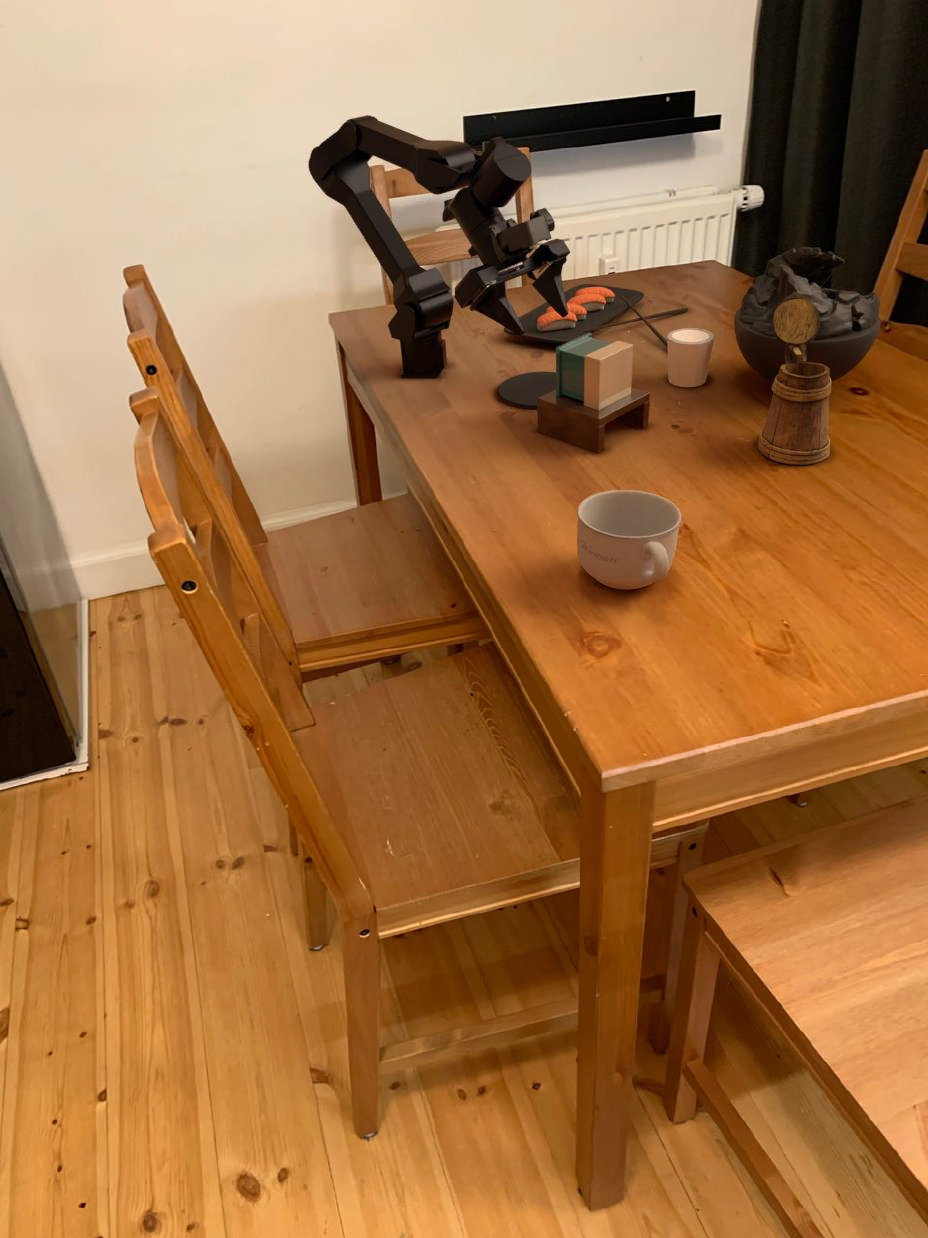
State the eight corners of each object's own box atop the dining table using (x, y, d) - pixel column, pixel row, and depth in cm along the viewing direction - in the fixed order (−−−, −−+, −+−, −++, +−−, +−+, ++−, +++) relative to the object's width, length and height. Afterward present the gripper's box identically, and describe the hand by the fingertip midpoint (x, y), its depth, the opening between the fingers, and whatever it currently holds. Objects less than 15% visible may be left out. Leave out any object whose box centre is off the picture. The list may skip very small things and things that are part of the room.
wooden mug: (809, 419, 133) (830, 288, 123) (837, 463, 122) (863, 324, 112) (744, 422, 134) (760, 292, 123) (767, 467, 123) (786, 328, 112)
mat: (492, 408, 143) (492, 404, 142) (504, 374, 153) (504, 371, 153) (580, 409, 140) (580, 405, 140) (586, 375, 151) (586, 371, 150)
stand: (537, 431, 135) (537, 398, 132) (587, 406, 141) (588, 373, 138) (598, 453, 129) (599, 419, 126) (648, 425, 135) (650, 392, 132)
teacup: (568, 552, 109) (569, 490, 104) (662, 543, 110) (666, 481, 105) (592, 624, 98) (594, 558, 93) (696, 613, 98) (703, 547, 94)
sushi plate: (581, 291, 184) (581, 271, 182) (729, 314, 169) (732, 292, 167) (496, 340, 165) (495, 318, 163) (655, 370, 150) (656, 347, 148)
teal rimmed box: (555, 396, 132) (555, 347, 128) (588, 380, 136) (589, 332, 132) (598, 410, 128) (600, 360, 124) (631, 393, 132) (633, 344, 128)
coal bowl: (827, 352, 152) (848, 228, 141) (894, 400, 136) (923, 265, 125) (707, 367, 150) (718, 243, 139) (761, 418, 134) (779, 283, 123)
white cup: (710, 389, 143) (714, 343, 139) (663, 388, 145) (666, 343, 141) (709, 371, 149) (714, 327, 145) (665, 370, 150) (667, 326, 146)
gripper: (466, 206, 121) (531, 312, 121) (562, 176, 131) (621, 274, 132) (427, 257, 130) (487, 356, 131) (519, 226, 141) (574, 317, 141)
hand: (544, 324), depth 133 cm, fingers open, 9 cm apart
